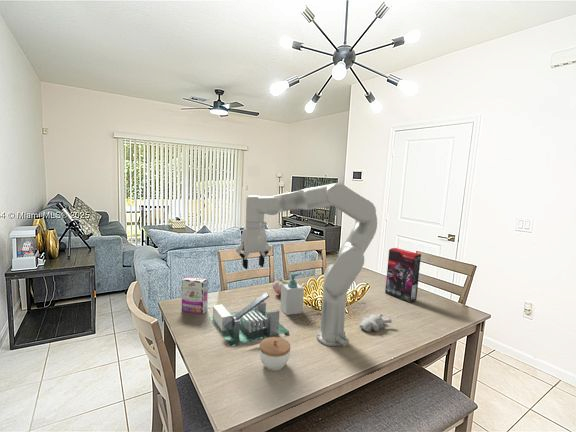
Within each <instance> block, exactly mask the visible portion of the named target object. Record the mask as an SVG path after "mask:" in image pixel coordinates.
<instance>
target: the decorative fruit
mask: <svg viewBox="0 0 576 432" xmlns="http://www.w3.org/2000/svg"><path fill="white" fill-rule="evenodd" d="M282 283H289V282H288V281H287V280H285V279H283V278H282V277H281V278H276V279H275V280H274V282H273V284H272V289H273V291H274V292H275V293H276V294H277V295H279V296H281V284H282Z"/></svg>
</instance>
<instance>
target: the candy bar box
mask: <svg viewBox="0 0 576 432" xmlns="http://www.w3.org/2000/svg"><path fill="white" fill-rule="evenodd" d="M208 280H209V279H208V278H201V277H193V276H186V277H183V278H182V279H181V311H182V312H188V313H193V314H199V315H204V314H205V313H206V312H207V311H208V299H209V297H208V296H209V295H208V290H209V289H208V286H209V285H208V284H209V281H208Z"/></svg>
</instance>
